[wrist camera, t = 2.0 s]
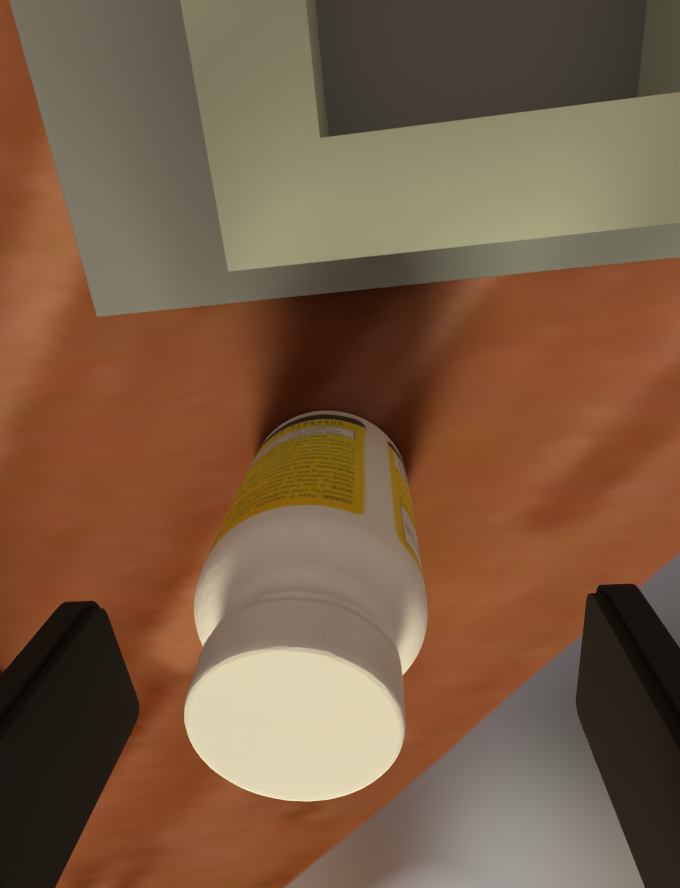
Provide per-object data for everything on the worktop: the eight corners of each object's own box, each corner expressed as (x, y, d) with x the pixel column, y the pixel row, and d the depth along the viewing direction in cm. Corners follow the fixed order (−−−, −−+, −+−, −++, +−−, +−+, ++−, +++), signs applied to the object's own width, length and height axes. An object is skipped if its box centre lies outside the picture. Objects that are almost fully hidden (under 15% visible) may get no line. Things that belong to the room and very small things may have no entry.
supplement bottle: (223, 487, 18) (85, 736, 9) (316, 374, 17) (258, 544, 8) (340, 570, 20) (319, 863, 10) (439, 471, 18) (516, 721, 9)
